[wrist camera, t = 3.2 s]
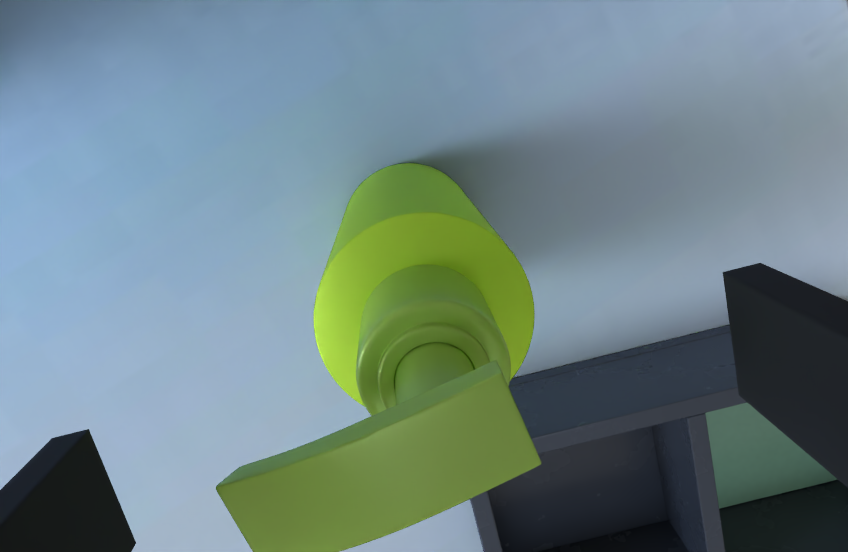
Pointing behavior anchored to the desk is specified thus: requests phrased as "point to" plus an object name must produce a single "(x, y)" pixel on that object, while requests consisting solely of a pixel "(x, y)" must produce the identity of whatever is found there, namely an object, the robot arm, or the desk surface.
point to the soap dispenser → (402, 373)
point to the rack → (659, 462)
